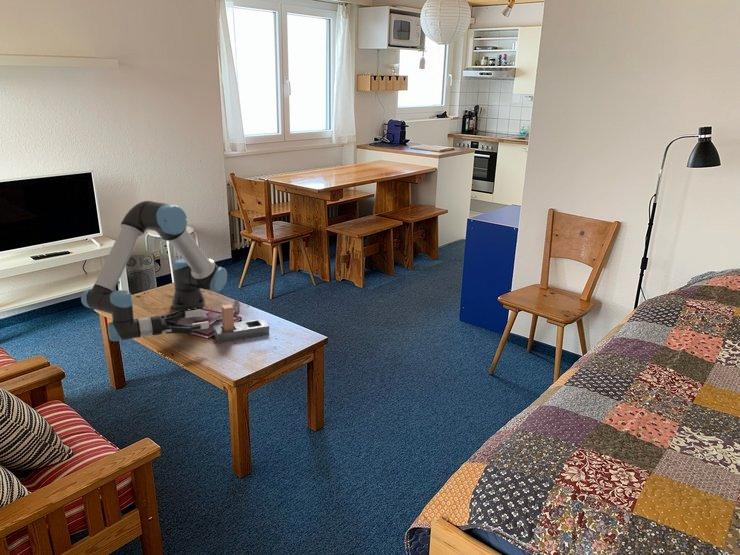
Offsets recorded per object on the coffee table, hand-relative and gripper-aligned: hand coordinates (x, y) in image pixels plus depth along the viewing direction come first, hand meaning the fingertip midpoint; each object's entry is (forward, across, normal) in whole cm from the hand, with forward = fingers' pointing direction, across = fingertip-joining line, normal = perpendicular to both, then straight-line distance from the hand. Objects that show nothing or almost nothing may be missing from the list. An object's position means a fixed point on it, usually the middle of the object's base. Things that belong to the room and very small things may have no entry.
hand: (204, 318), depth 235 cm
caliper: (+13, -21, -10) cm, 27 cm away
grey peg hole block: (+15, 0, -10) cm, 18 cm away
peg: (+10, 0, -10) cm, 14 cm away
